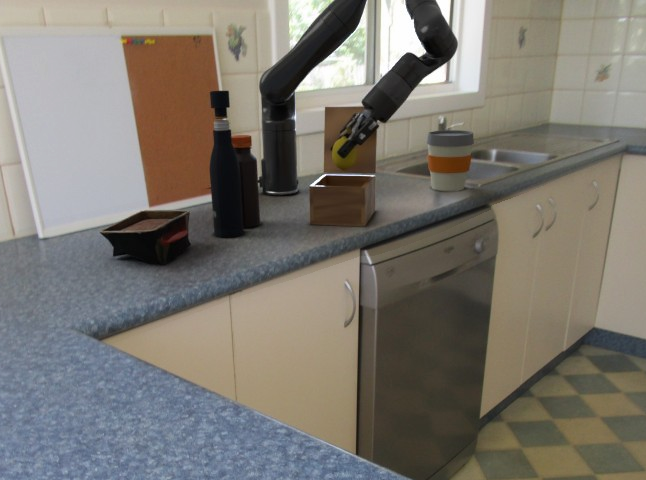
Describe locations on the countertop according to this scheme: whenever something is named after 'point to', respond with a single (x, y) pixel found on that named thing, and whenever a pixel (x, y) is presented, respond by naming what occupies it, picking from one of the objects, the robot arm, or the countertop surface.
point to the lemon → (348, 160)
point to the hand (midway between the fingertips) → (336, 153)
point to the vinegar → (248, 180)
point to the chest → (342, 200)
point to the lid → (334, 125)
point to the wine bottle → (224, 173)
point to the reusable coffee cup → (449, 158)
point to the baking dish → (150, 235)
